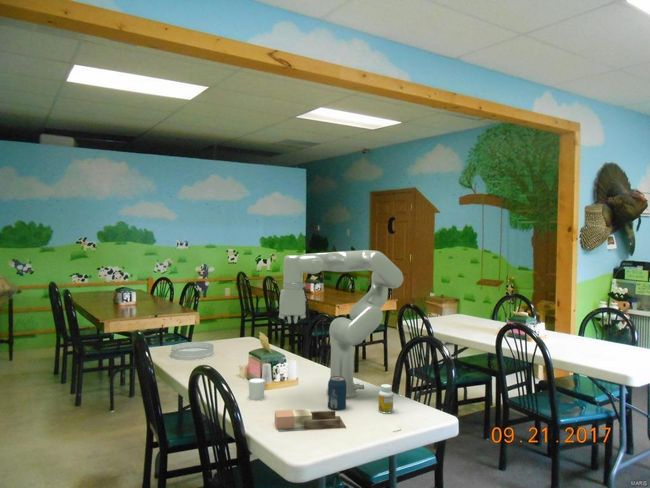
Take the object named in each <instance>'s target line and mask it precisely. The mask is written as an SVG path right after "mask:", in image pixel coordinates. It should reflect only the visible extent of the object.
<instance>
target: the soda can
mask: <svg viewBox="0 0 650 488" xmlns="http://www.w3.org/2000/svg"><path fill="white" fill-rule="evenodd" d="M327 389H328V395H327V408H328V409H329V410H330V411H334V410H335V411H344V410H345V409H346V408H347V398H346V381H345V378H344V377H340V376H333V377H329V380H328V381H327Z"/></svg>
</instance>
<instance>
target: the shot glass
mask: <svg viewBox="0 0 650 488" xmlns="http://www.w3.org/2000/svg"><path fill="white" fill-rule="evenodd" d="M265 388H266V379H264V378H259V377H256V378H254V377H253V378H250V379H249V380H248V392H249V399H250V400H252V401H253V400H254V401H260V400H263V399H264V397H265V391H266V389H265Z"/></svg>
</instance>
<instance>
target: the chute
mask: <svg viewBox="0 0 650 488" xmlns="http://www.w3.org/2000/svg"><path fill="white" fill-rule="evenodd" d="M310 412H311V414H312V420H305V428H287V429H277V431H278V433H286V432H302V431H303V432H304V431H321V430H338V429H347V426H346V425H345V422H344V421H343V420H342V418H341V416H340V415H336V410H318V411H310Z"/></svg>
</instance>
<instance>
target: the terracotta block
mask: <svg viewBox="0 0 650 488" xmlns="http://www.w3.org/2000/svg"><path fill="white" fill-rule="evenodd" d="M292 410H293V409H287V410H286V409H285V410H274V425H275V429H276V430H278V429H287V428H294V417H295V416H294V414H293V411H292Z"/></svg>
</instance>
